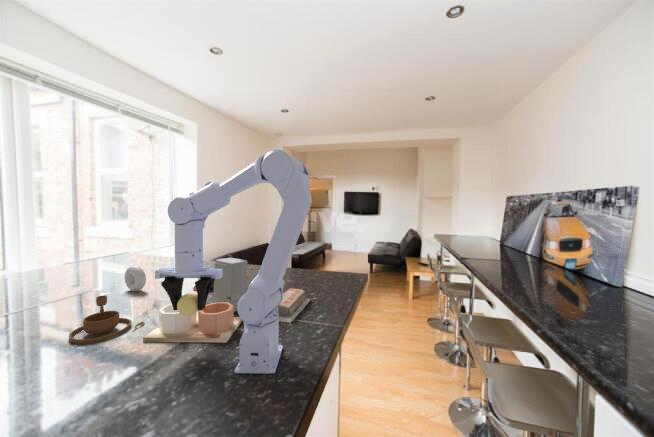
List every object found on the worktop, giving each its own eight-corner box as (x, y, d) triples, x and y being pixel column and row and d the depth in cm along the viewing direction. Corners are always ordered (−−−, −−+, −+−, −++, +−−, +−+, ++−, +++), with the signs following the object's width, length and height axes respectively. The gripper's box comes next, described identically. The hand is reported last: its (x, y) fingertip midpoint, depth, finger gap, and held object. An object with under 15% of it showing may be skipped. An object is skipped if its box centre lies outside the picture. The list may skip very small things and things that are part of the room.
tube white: (185, 333, 62) (184, 313, 62) (153, 333, 62) (153, 313, 62) (200, 319, 70) (200, 302, 70) (172, 319, 70) (172, 301, 70)
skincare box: (211, 309, 80) (211, 260, 80) (230, 301, 87) (230, 256, 86) (230, 314, 76) (230, 263, 76) (248, 306, 83) (248, 259, 82)
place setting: (38, 351, 57) (37, 325, 57) (97, 314, 76) (97, 295, 76) (127, 343, 61) (127, 319, 61) (161, 310, 80) (161, 292, 80)
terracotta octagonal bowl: (225, 334, 62) (225, 314, 62) (193, 333, 62) (193, 314, 62) (236, 320, 70) (236, 302, 70) (208, 319, 70) (208, 302, 70)
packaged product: (284, 286, 91) (310, 288, 88) (284, 299, 91) (310, 302, 89) (259, 304, 73) (291, 308, 71) (259, 320, 74) (291, 325, 71)
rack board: (226, 342, 60) (226, 338, 60) (143, 341, 60) (143, 337, 60) (242, 320, 72) (242, 316, 72) (173, 319, 72) (173, 315, 72)
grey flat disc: (122, 290, 97) (122, 264, 96) (132, 288, 100) (132, 263, 99) (138, 294, 93) (138, 267, 92) (148, 291, 96) (148, 265, 95)
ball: (194, 319, 56) (194, 297, 56) (172, 319, 56) (172, 297, 56) (205, 310, 61) (205, 290, 61) (184, 310, 61) (184, 290, 61)
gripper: (227, 248, 62) (227, 302, 62) (168, 247, 62) (168, 302, 62) (215, 253, 55) (215, 314, 55) (148, 252, 55) (149, 314, 55)
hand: (189, 308), depth 58 cm, fingers closed on ball, 5 cm apart
